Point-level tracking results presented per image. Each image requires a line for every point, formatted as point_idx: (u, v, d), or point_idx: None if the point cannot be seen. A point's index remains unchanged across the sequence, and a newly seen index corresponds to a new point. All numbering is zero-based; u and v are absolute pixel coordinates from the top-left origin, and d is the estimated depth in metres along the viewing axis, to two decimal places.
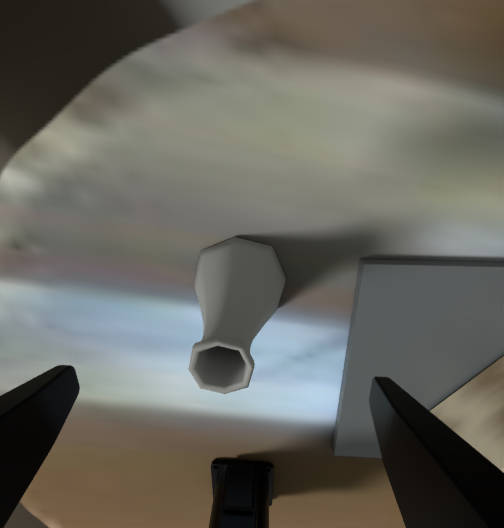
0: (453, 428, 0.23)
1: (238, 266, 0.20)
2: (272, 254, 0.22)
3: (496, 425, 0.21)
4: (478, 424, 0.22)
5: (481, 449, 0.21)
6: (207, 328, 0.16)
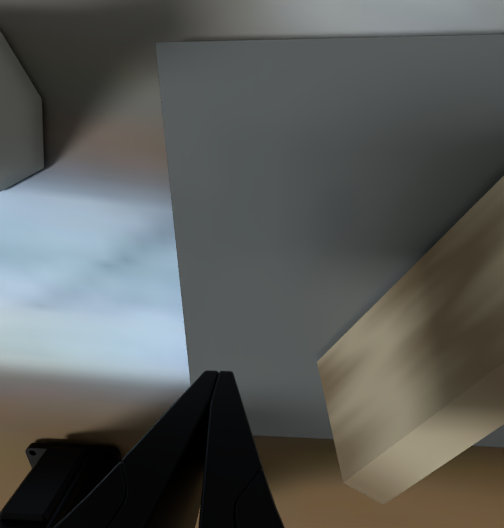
0: (350, 371, 0.13)
1: None
2: None
3: (413, 351, 0.11)
4: (386, 357, 0.12)
5: (383, 401, 0.11)
6: None
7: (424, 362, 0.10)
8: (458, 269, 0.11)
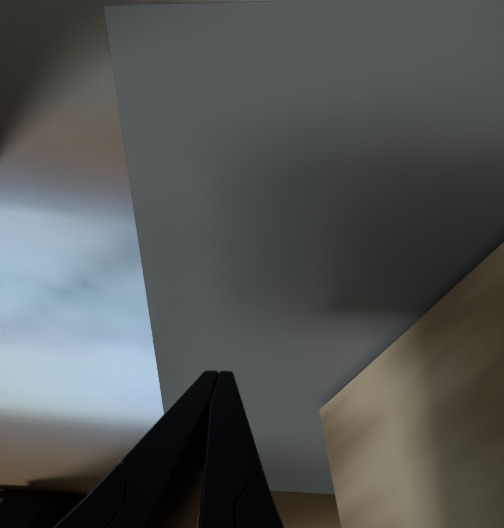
0: (363, 435, 0.10)
1: None
2: None
3: (452, 426, 0.08)
4: (412, 425, 0.09)
5: (411, 495, 0.08)
6: None
7: (472, 447, 0.07)
8: None
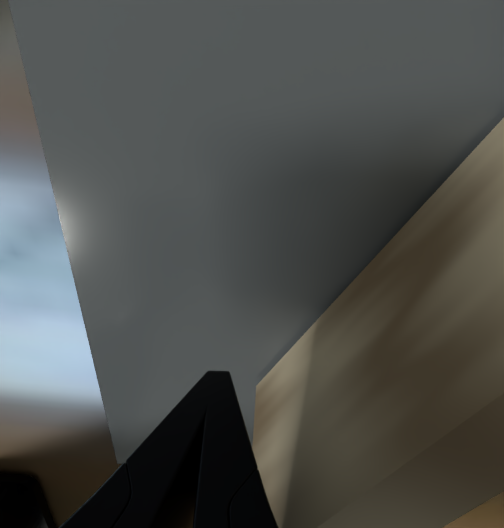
0: (283, 404, 0.10)
1: None
2: None
3: (351, 386, 0.07)
4: (321, 389, 0.08)
5: (307, 456, 0.07)
6: None
7: (361, 404, 0.07)
8: (415, 270, 0.08)
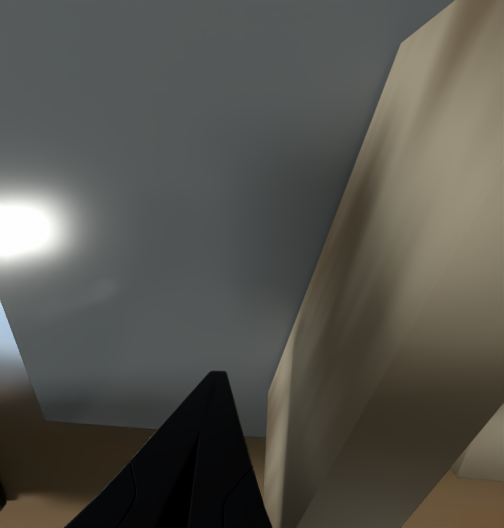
0: (280, 408, 0.10)
1: None
2: None
3: (312, 380, 0.07)
4: (298, 387, 0.08)
5: (290, 458, 0.07)
6: None
7: (317, 397, 0.07)
8: (346, 245, 0.08)
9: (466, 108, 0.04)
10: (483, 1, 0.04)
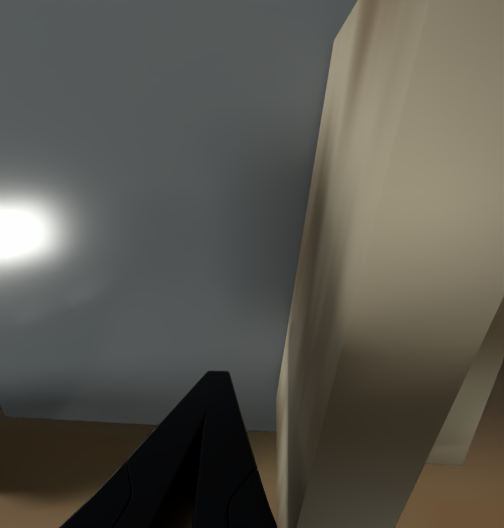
0: (282, 414, 0.10)
1: None
2: None
3: (298, 384, 0.07)
4: (291, 392, 0.08)
5: (289, 465, 0.07)
6: None
7: (301, 401, 0.07)
8: (312, 245, 0.08)
9: (369, 104, 0.04)
10: None
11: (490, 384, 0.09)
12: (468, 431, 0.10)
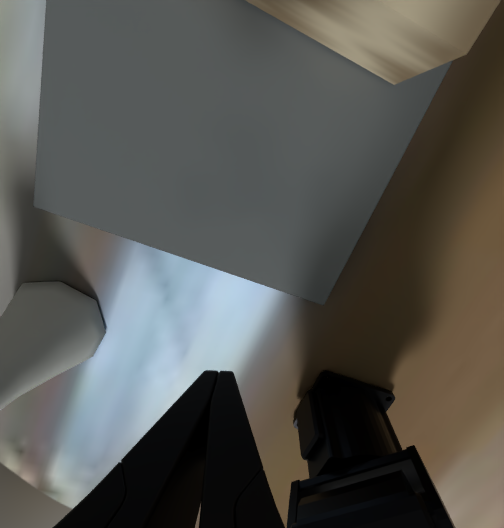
0: (380, 56, 0.13)
1: None
2: (26, 286, 0.22)
3: (332, 11, 0.11)
4: (350, 30, 0.12)
5: (382, 29, 0.11)
6: None
7: (333, 2, 0.11)
8: None
9: None
10: None
11: None
12: None
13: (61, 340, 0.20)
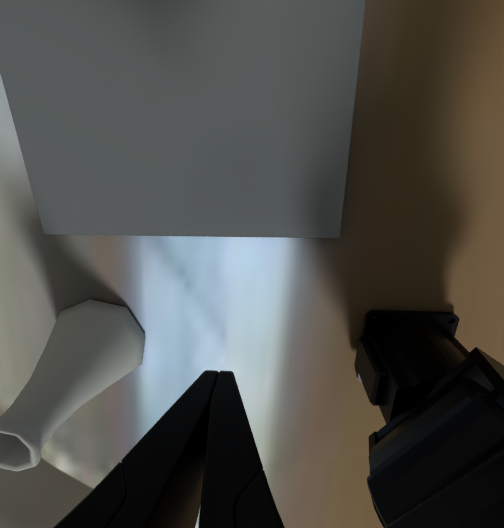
0: None
1: None
2: (64, 313, 0.23)
3: None
4: None
5: None
6: None
7: None
8: None
9: None
10: None
11: None
12: None
13: (103, 349, 0.21)
